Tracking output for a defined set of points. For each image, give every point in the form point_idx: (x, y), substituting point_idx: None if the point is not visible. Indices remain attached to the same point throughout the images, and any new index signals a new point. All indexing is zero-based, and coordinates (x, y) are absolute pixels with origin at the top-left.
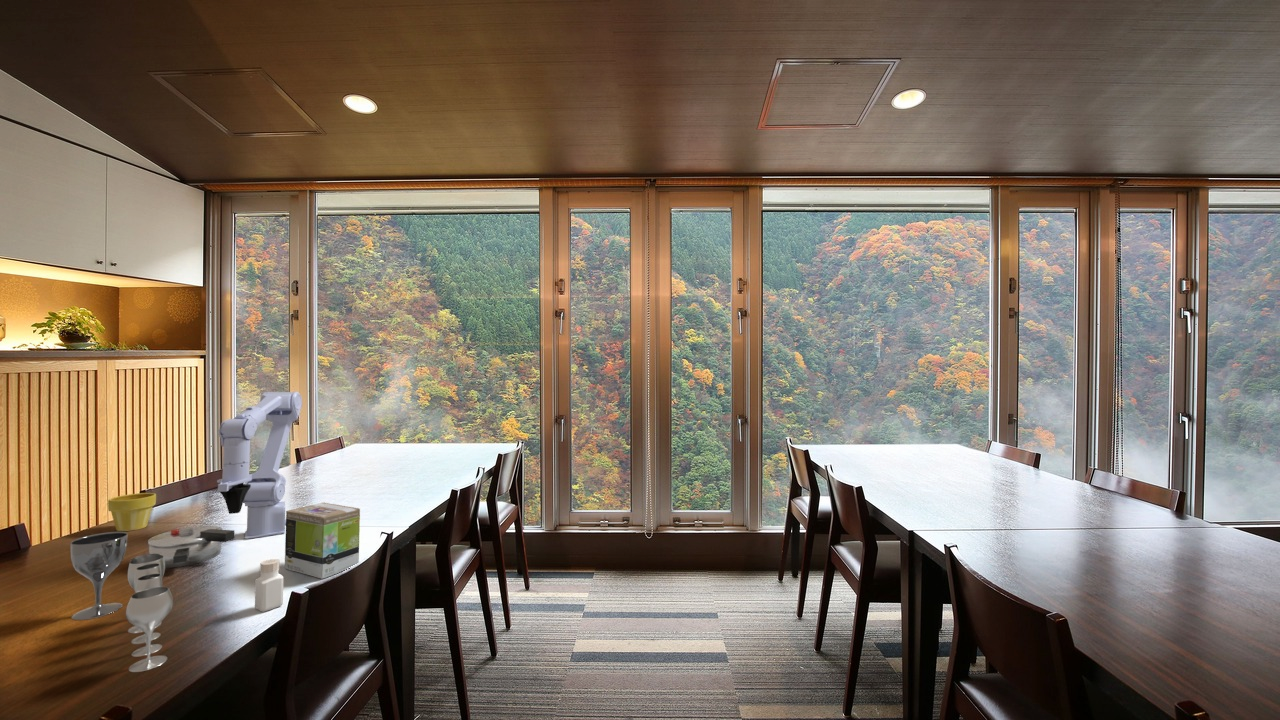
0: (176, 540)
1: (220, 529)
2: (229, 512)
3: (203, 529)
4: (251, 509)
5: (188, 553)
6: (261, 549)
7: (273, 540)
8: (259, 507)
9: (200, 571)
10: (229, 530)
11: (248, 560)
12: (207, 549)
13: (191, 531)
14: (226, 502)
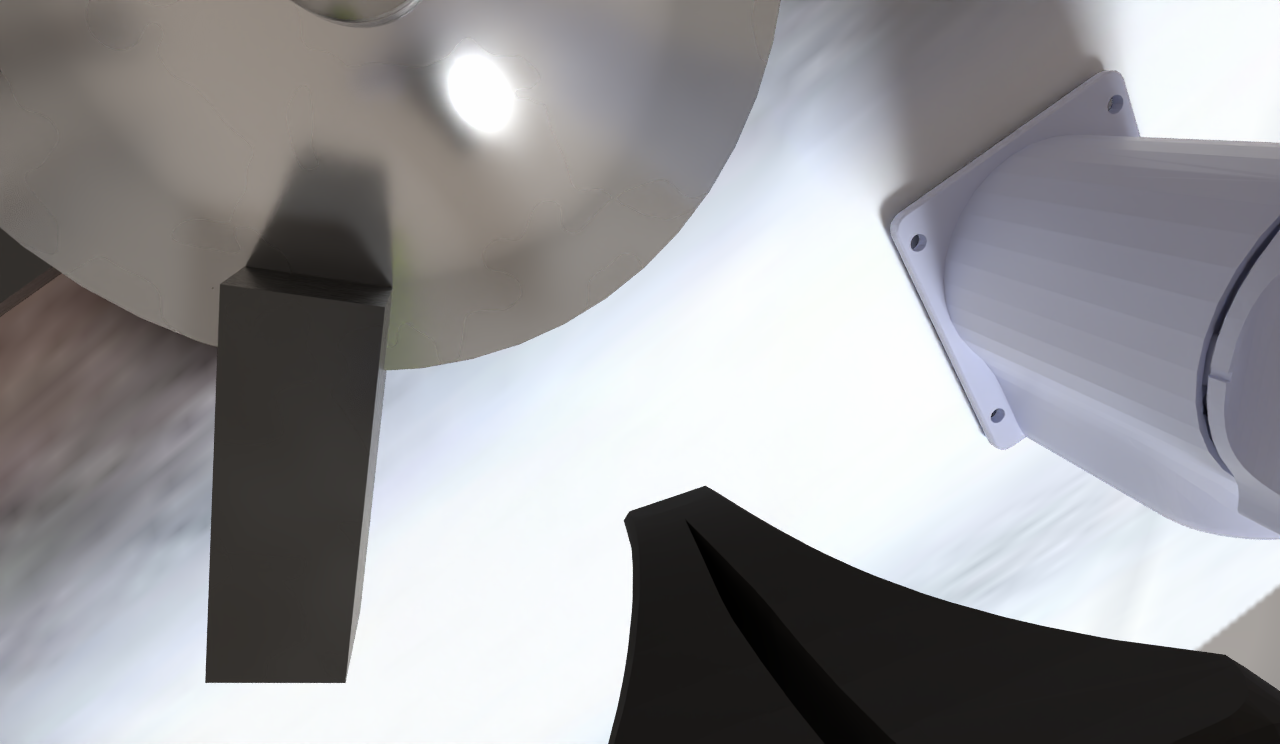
0: (25, 1)
1: (606, 276)
2: (631, 530)
3: (616, 13)
4: (1192, 292)
5: (23, 294)
6: (619, 537)
7: (833, 474)
8: (1194, 401)
9: (45, 449)
10: (340, 627)
11: (362, 626)
12: None
13: (339, 17)
14: (631, 655)
